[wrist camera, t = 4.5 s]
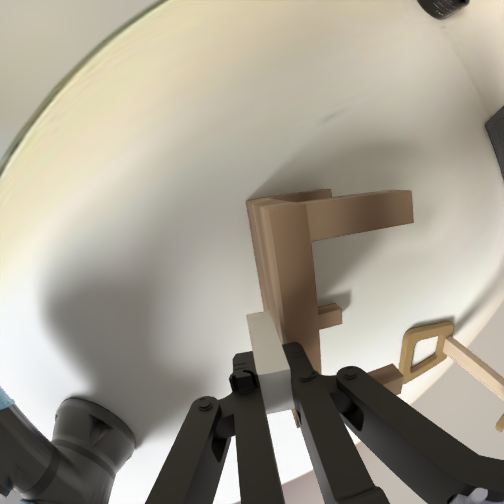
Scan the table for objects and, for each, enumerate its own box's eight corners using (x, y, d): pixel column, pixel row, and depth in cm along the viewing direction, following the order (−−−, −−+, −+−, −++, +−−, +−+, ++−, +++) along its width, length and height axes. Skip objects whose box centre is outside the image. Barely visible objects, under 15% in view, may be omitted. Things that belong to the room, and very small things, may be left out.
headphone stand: (403, 330, 35) (499, 416, 14) (451, 311, 36) (543, 372, 15) (395, 382, 38) (465, 468, 16) (442, 361, 38) (514, 427, 17)
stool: (267, 332, 33) (297, 427, 18) (245, 200, 30) (268, 210, 14) (336, 316, 34) (400, 393, 18) (324, 189, 30) (411, 190, 14)
